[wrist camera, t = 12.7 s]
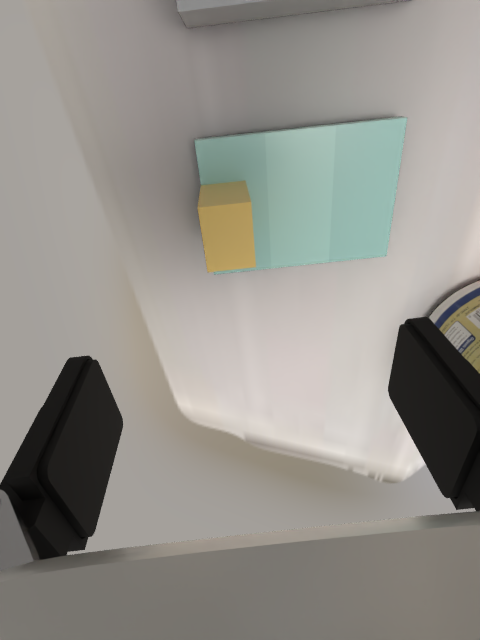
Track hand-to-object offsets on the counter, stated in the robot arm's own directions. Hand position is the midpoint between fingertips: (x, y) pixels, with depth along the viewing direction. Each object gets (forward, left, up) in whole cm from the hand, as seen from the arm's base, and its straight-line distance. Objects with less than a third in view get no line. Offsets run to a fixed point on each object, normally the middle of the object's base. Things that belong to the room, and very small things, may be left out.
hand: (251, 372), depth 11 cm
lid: (-5, 0, -17) cm, 18 cm away
